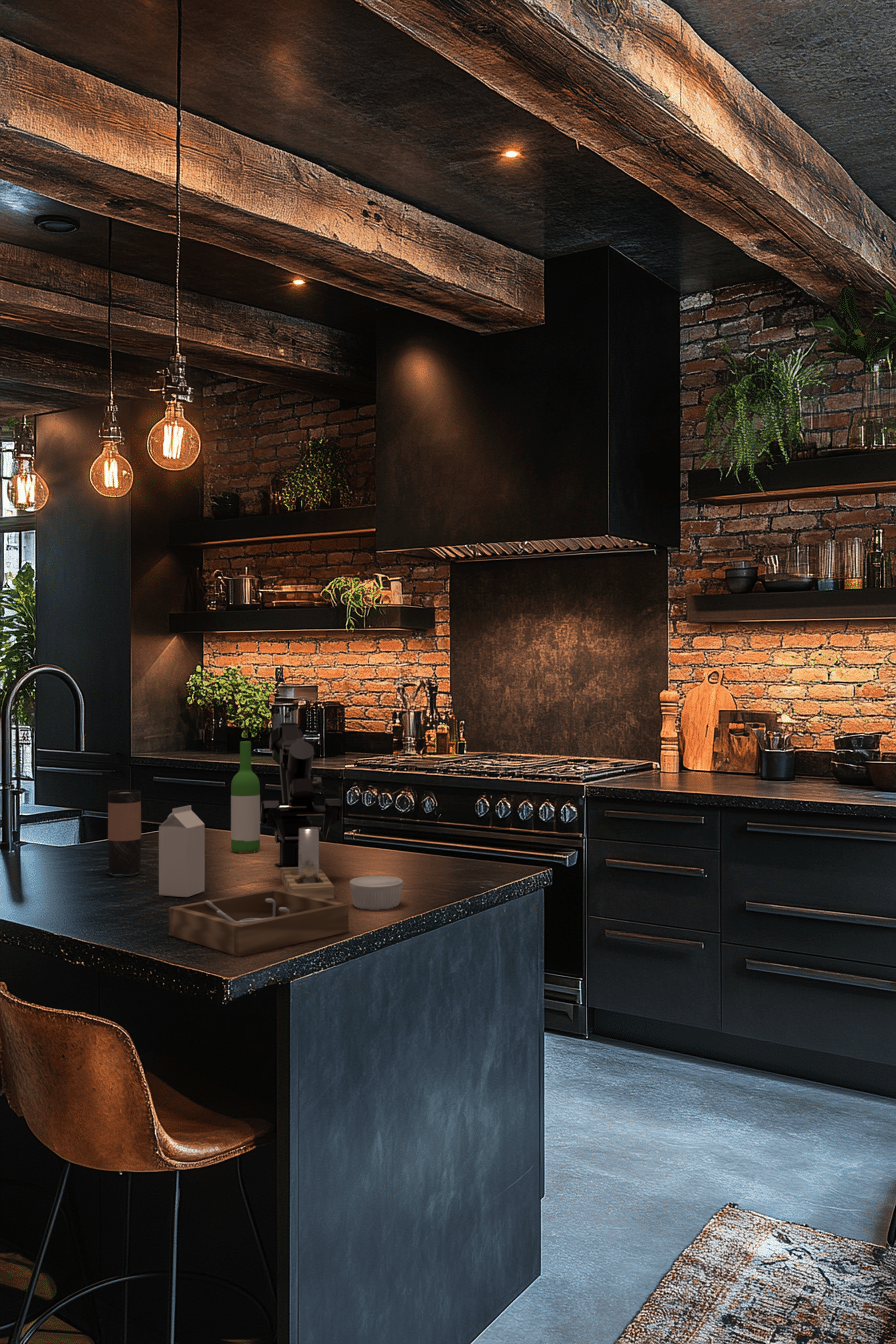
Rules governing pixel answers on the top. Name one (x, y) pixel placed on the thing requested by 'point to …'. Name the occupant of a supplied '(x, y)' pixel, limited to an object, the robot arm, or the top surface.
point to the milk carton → (181, 854)
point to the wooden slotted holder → (310, 889)
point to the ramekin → (376, 892)
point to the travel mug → (124, 831)
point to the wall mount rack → (247, 918)
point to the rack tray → (299, 926)
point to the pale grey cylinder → (308, 855)
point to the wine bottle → (245, 805)
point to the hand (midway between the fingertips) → (304, 840)
